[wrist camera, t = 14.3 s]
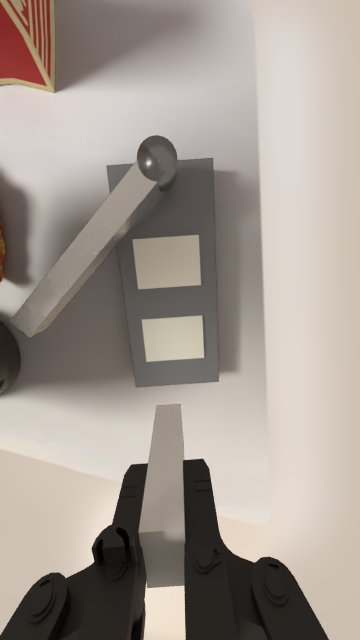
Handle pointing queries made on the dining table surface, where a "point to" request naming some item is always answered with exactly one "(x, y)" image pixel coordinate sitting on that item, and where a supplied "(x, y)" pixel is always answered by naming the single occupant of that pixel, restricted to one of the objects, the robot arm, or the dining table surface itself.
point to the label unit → (172, 280)
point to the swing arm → (100, 234)
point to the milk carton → (27, 43)
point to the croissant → (1, 251)
